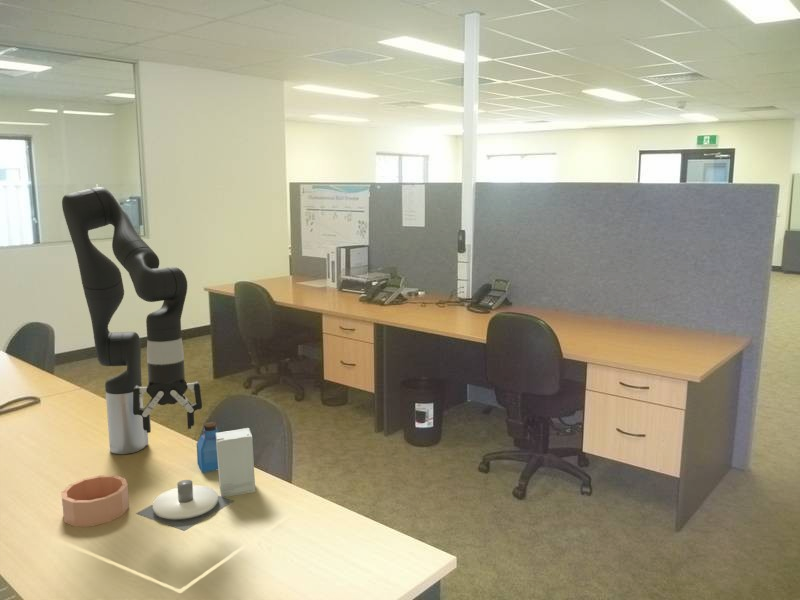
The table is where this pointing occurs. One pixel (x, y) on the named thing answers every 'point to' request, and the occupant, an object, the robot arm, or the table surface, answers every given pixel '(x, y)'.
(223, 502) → the mat
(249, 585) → the table surface
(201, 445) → the perfume bottle
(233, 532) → the table surface
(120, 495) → the bowl
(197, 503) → the lid
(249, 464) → the skincare box
